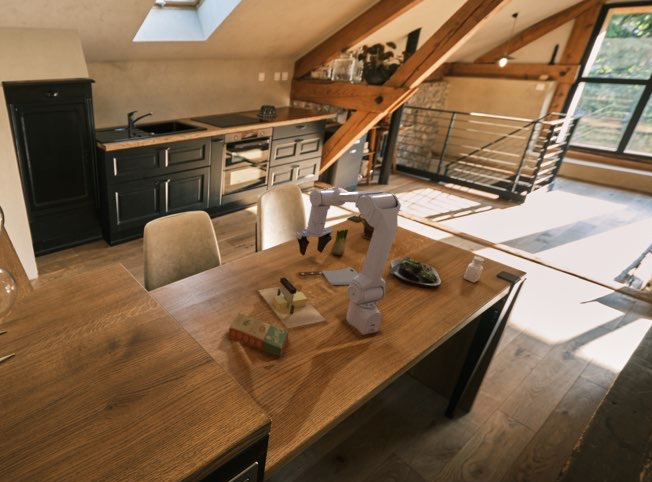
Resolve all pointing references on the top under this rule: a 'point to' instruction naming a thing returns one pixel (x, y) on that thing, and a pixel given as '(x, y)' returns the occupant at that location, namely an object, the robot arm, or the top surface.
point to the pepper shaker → (474, 269)
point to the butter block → (297, 300)
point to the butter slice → (279, 303)
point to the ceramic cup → (367, 229)
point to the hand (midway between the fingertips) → (311, 252)
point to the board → (292, 310)
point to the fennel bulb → (340, 242)
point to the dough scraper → (287, 289)
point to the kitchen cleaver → (336, 275)
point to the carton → (258, 334)
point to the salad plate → (415, 273)
